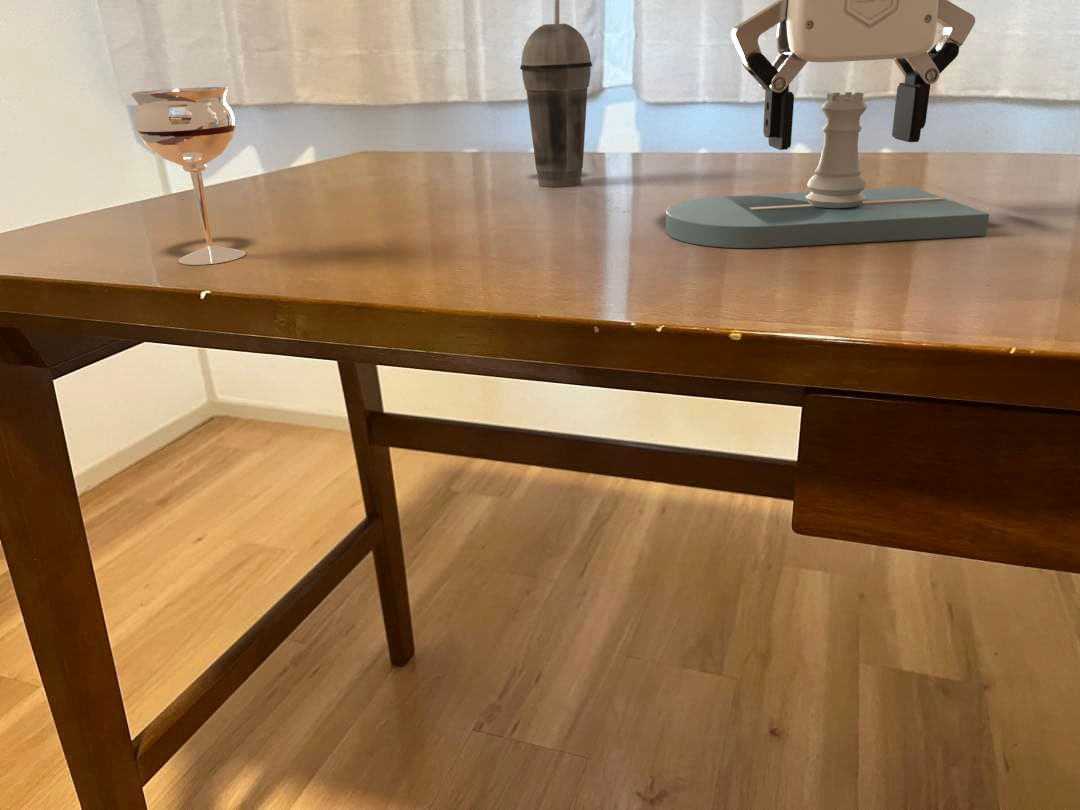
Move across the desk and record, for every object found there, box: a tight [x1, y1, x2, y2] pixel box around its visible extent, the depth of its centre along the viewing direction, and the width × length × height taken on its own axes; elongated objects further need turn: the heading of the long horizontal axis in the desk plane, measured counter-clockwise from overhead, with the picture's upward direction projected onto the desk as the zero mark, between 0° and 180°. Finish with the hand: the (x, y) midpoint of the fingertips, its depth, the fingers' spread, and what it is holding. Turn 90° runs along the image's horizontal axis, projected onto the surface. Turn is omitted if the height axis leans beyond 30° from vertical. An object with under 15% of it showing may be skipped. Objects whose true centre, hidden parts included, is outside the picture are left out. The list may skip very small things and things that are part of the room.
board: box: [665, 186, 990, 249], centre depth 66 cm, size 22×12×2 cm, turn 94°
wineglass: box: [128, 86, 247, 266], centre depth 63 cm, size 7×7×12 cm
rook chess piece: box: [806, 91, 868, 208], centre depth 64 cm, size 4×4×8 cm
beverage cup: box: [519, 0, 593, 188], centre depth 87 cm, size 7×7×20 cm
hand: (842, 143), depth 64 cm, fingers open, 9 cm apart
